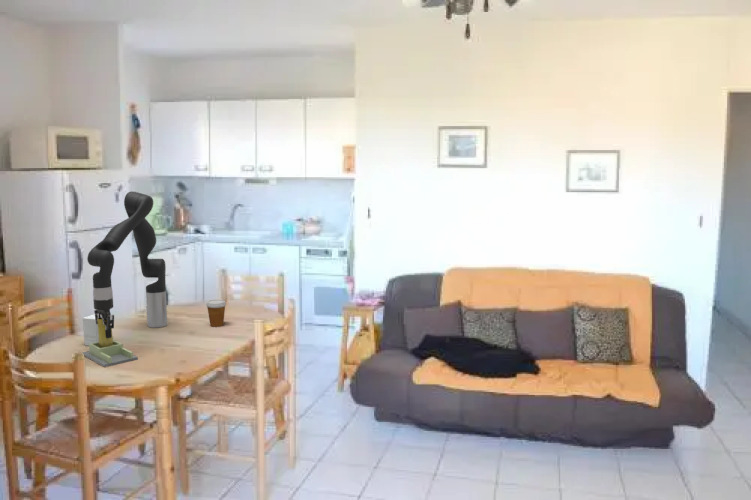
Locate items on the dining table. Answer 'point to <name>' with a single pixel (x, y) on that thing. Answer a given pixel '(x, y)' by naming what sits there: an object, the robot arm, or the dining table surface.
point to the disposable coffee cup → (216, 312)
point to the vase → (103, 335)
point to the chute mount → (109, 354)
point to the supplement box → (90, 330)
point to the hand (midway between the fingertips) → (105, 336)
